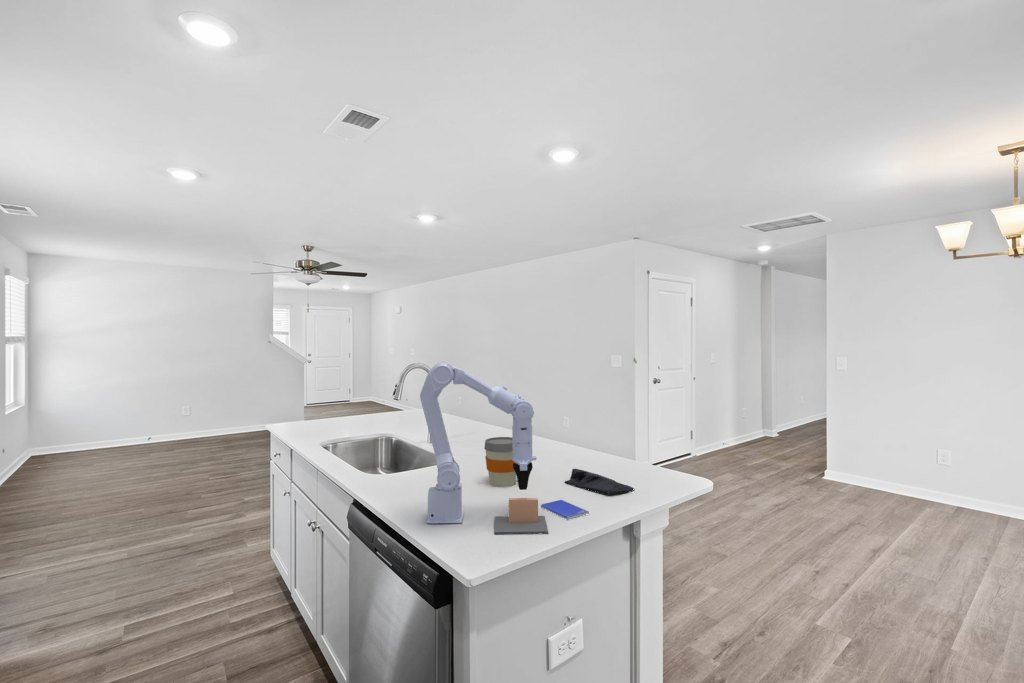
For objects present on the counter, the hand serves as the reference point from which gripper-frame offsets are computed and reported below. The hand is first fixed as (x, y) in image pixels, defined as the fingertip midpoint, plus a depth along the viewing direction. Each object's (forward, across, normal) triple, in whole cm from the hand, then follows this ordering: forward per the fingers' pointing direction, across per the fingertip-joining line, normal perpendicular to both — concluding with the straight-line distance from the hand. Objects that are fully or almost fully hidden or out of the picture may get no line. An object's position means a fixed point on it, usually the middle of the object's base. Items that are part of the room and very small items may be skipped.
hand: (522, 489), depth 137 cm
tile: (+7, -6, 0) cm, 9 cm away
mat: (+7, -8, +1) cm, 11 cm away
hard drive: (+8, +2, -12) cm, 15 cm away
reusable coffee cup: (+8, +30, +6) cm, 32 cm away
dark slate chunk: (+8, +26, -27) cm, 38 cm away
